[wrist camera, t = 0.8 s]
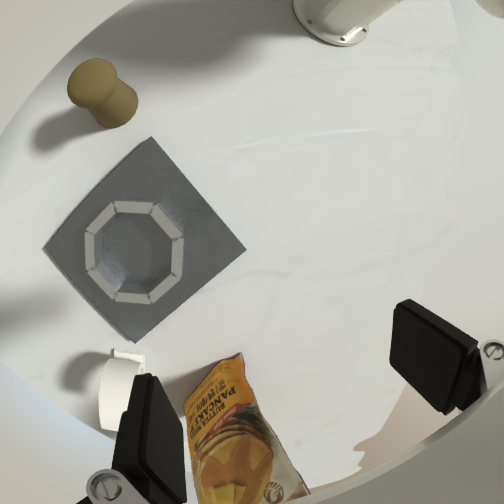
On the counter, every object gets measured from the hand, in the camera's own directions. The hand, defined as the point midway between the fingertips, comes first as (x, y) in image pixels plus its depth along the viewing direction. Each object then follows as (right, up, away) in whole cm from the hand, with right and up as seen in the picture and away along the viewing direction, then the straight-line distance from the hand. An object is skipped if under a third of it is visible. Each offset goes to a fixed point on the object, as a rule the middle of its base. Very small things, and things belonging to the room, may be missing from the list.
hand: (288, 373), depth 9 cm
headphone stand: (-19, -12, +27) cm, 36 cm away
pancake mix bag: (-7, -17, +31) cm, 37 cm away
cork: (-18, +23, +19) cm, 35 cm away
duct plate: (-15, +5, +24) cm, 29 cm away
